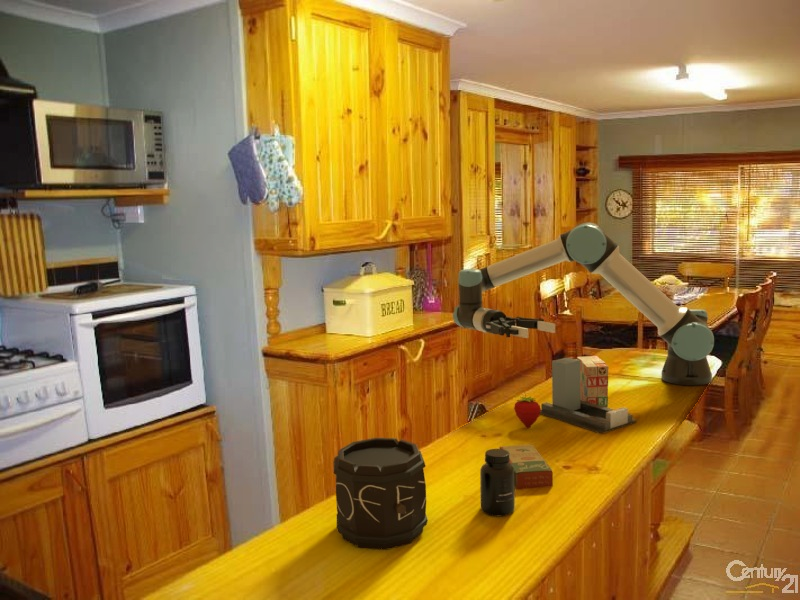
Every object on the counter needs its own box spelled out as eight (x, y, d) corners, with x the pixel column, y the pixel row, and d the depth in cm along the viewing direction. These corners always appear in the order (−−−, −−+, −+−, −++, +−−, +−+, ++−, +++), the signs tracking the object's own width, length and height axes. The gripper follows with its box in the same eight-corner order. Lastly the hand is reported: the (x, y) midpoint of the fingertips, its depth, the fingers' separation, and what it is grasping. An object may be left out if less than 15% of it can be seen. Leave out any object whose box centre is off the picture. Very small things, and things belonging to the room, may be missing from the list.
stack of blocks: (570, 387, 229) (569, 349, 227) (589, 386, 229) (589, 349, 227) (586, 407, 207) (586, 366, 206) (608, 406, 207) (608, 365, 206)
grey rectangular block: (567, 404, 208) (567, 357, 205) (580, 408, 203) (580, 360, 201) (552, 408, 204) (552, 360, 202) (565, 412, 200) (565, 364, 198)
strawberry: (532, 433, 187) (532, 396, 185) (509, 427, 192) (508, 391, 191) (545, 428, 191) (545, 391, 189) (523, 422, 196) (522, 386, 195)
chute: (571, 403, 212) (571, 388, 211) (636, 422, 193) (636, 405, 192) (537, 413, 204) (537, 397, 203) (601, 433, 185) (601, 416, 184)
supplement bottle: (506, 520, 139) (505, 461, 138) (475, 512, 143) (473, 455, 141) (520, 506, 145) (519, 449, 143) (489, 499, 149) (488, 444, 147)
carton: (533, 460, 170) (533, 443, 169) (553, 488, 154) (553, 469, 153) (499, 462, 169) (498, 445, 169) (515, 490, 153) (515, 471, 153)
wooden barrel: (354, 563, 126) (350, 478, 123) (323, 521, 142) (319, 446, 139) (446, 539, 133) (443, 458, 130) (406, 503, 149) (403, 430, 146)
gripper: (517, 327, 234) (568, 337, 215) (463, 337, 221) (512, 349, 203) (516, 305, 233) (568, 313, 214) (462, 314, 220) (512, 323, 202)
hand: (541, 330), depth 209 cm, fingers open, 10 cm apart
